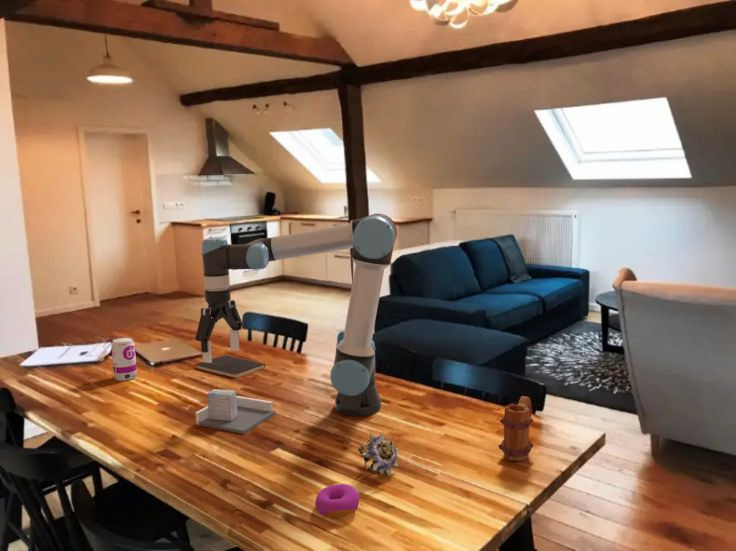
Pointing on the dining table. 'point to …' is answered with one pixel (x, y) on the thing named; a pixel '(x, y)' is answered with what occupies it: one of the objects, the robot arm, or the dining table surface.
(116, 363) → the supplement can
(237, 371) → the hardcover book
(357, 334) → the robot arm
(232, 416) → the medicine box
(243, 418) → the tray
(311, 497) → the dining table surface
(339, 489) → the donut
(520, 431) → the mug
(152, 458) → the dining table surface
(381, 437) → the passion flower
